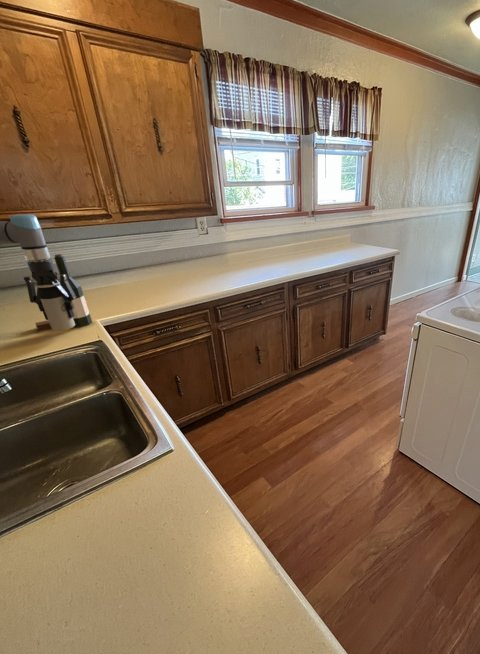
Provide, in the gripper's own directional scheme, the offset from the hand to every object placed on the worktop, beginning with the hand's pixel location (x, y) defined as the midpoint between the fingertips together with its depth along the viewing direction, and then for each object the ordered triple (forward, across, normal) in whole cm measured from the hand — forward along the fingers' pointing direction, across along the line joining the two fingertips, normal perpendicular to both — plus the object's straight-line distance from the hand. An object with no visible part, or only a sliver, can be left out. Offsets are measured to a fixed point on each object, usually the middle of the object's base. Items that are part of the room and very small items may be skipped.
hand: (60, 317), depth 130 cm
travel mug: (+4, 0, 0) cm, 4 cm away
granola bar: (+7, +10, -12) cm, 17 cm away
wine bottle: (+8, -1, -12) cm, 14 cm away
